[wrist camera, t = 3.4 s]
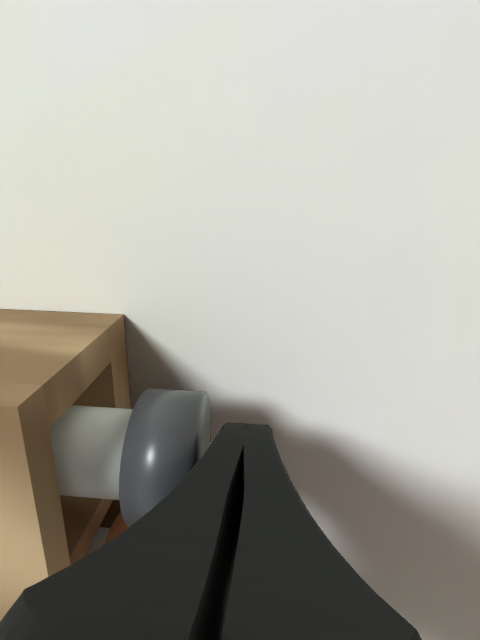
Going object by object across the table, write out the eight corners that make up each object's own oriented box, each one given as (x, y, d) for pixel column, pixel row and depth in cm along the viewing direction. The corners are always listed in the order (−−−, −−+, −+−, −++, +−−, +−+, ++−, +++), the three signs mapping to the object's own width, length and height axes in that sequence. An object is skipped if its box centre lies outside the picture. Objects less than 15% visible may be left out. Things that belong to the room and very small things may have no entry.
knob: (211, 469, 14) (188, 565, 10) (30, 456, 14) (-48, 544, 11) (210, 370, 12) (184, 441, 9) (13, 359, 13) (-81, 423, 10)
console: (148, 634, 18) (93, 828, 13) (52, 624, 19) (-42, 808, 13) (123, 314, 13) (17, 406, 8) (-7, 308, 14) (-194, 393, 8)
